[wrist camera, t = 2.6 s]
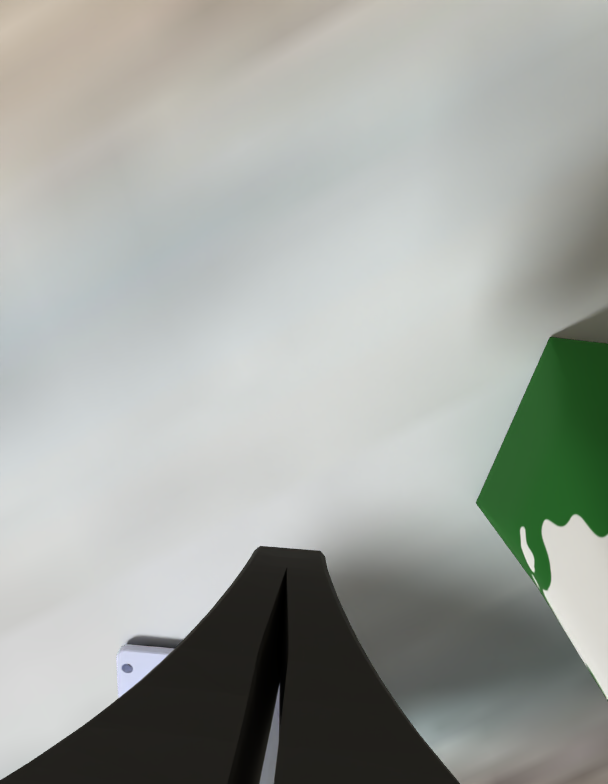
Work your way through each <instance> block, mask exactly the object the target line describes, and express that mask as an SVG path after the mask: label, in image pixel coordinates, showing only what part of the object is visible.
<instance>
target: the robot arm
mask: <svg viewBox="0 0 608 784" xmlns="http://www.w3.org/2000/svg"><path fill="white" fill-rule="evenodd" d="M116 660H117V681H118V699H117V700H116V701H115V702H113V703H112V704H111V705H110V706H108V707H107V708H106V709H105V710H103V711H102V712H101V713H99V714H98V715H97V716H95V717H94V718H93V719H91V720H90V721H89V722H87V723H86V724H85V725H83V726H82V727H80V728H79V729H78V730H76V731H75V732H73V733H72V734H70V735H69V736H67V737H66V738H64V739H63V740H61V741H60V742H59V743H57V744H56V745H54V746H53V747H51V748H50V749H48V750H47V751H45V752H44V753H43V754H41V755H40V756H38V757H37V758H35V759H34V760H32V761H31V762H29V763H27V764H26V765H24V766H23V767H21V768H20V769H18V770H16V771H15V772H13V773H11V774H10V775H8V776H7V777H5V778H3V779H2V780H0V784H460V783H459V782H458V781H457V779H456V778H455V777H454V776H453V775H452V773H451V772H450V771H449V770H448V769H447V767H446V766H445V765H444V764H443V763H442V761H441V760H440V759H439V758H438V756H437V755H436V754H435V753H434V752H433V750H432V749H431V748H430V747H429V746H428V744H427V743H426V742H425V741H424V740H423V738H422V737H421V736H420V735H419V733H418V732H417V731H416V729H415V728H414V726H413V725H412V724H411V722H410V721H409V720H408V718H407V717H406V715H405V714H404V713H403V711H402V710H401V709H400V707H399V706H398V704H397V703H396V701H395V700H394V698H393V697H392V695H391V694H390V692H389V691H388V690H387V688H386V687H385V685H384V683H383V682H382V680H381V679H380V677H379V676H378V674H377V672H376V671H375V669H374V667H373V666H372V664H371V662H370V661H369V659H368V657H367V655H366V653H365V652H364V650H363V648H362V646H361V644H360V643H359V641H358V639H357V637H356V635H355V633H354V631H353V629H352V627H351V625H350V623H349V621H348V619H347V617H346V614H345V612H344V610H343V608H342V606H341V604H340V601H339V599H338V597H337V594H336V592H335V589H334V586H333V584H332V581H331V578H330V575H329V572H328V568H327V564H326V560H325V556H324V555H323V554H322V553H321V551H314V550H302V549H290V548H278V547H265V546H260V547H259V548H257V549H256V550H255V551H254V552H253V554H252V556H251V558H250V559H249V561H248V562H247V564H246V565H245V567H244V568H243V570H242V571H241V572H240V574H239V575H238V576H237V578H236V579H235V581H234V582H233V583H232V585H231V586H230V587H229V588H228V590H227V591H226V592H225V593H224V595H223V596H222V597H221V598H220V599H219V601H218V602H217V603H216V604H215V606H214V607H213V608H212V609H211V610H210V612H209V613H208V614H207V615H206V616H205V617H204V618H203V619H202V620H201V621H200V623H199V624H198V625H197V626H196V627H195V628H194V629H193V630H192V631H191V632H190V633H189V634H188V635H187V637H186V638H185V639H184V640H183V641H182V642H181V643H180V644H179V645H178V646H177V647H176V648H175V649H174V648H163V647H152V646H141V645H130V644H129V645H124V646H122V647H121V648H120V650H119V651H118V653H117V657H116ZM127 664H130V665H131V666H128V665H127Z"/></svg>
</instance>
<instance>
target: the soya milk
mask: <svg viewBox="0 0 608 784" xmlns="http://www.w3.org/2000/svg"><path fill="white" fill-rule="evenodd" d="M476 504H477V505H478V507H479V508H480V509H481V511H482V512H483V513H484V515H485V516H486V518H487V519H488V520H489V522H490V523H491V524H492V526H493V527H494V528H495V530H496V531H497V533H498V534H499V535H500V537H501V538H502V539H503V541H504V542H505V544H506V545H507V546H508V548H509V549H510V550H511V552H512V553H513V554H514V556H515V557H516V559H517V560H518V561H519V563H520V564H521V565H522V567H523V568H524V570H525V571H526V572H527V574H528V575H529V576H530V578H531V579H532V580H533V582H534V583H535V584H536V586H537V587H538V589H539V590H540V592H541V594H542V595H543V597H544V598H545V600H546V602H547V603H548V605H549V606H550V608H551V610H552V611H553V613H554V615H555V616H556V618H557V619H558V621H559V623H560V624H561V626H562V627H563V629H564V631H565V632H566V634H567V636H568V637H569V639H570V640H571V642H572V644H573V645H574V647H575V649H576V650H577V652H578V653H579V655H580V657H581V658H582V660H583V662H584V663H585V665H586V666H587V668H588V670H589V671H590V673H591V675H592V676H593V678H594V679H595V681H596V683H597V684H598V686H599V687H600V689H601V691H602V692H603V694H604V696H605V697H606V699H607V700H608V344H607V343H598V342H589V341H580V340H571V339H563V338H555V337H550V338H549V340H548V342H547V345H546V347H545V349H544V351H543V354H542V356H541V358H540V360H539V363H538V365H537V367H536V369H535V372H534V374H533V376H532V378H531V380H530V383H529V385H528V387H527V389H526V392H525V394H524V396H523V398H522V401H521V403H520V405H519V407H518V410H517V412H516V414H515V416H514V419H513V421H512V423H511V425H510V428H509V430H508V432H507V434H506V437H505V439H504V441H503V443H502V445H501V448H500V450H499V452H498V454H497V457H496V459H495V461H494V463H493V466H492V468H491V470H490V472H489V475H488V477H487V479H486V481H485V484H484V486H483V488H482V490H481V493H480V495H479V497H478V499H477V502H476Z"/></svg>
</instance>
